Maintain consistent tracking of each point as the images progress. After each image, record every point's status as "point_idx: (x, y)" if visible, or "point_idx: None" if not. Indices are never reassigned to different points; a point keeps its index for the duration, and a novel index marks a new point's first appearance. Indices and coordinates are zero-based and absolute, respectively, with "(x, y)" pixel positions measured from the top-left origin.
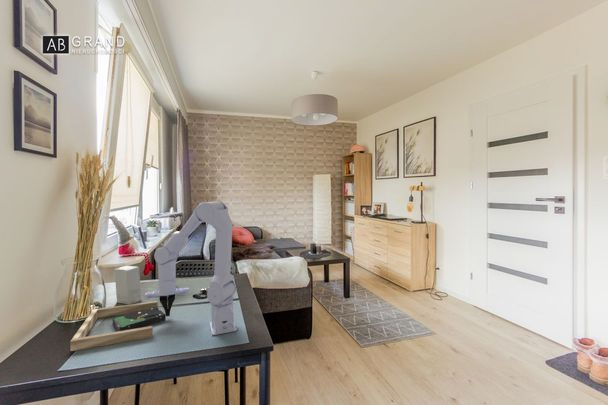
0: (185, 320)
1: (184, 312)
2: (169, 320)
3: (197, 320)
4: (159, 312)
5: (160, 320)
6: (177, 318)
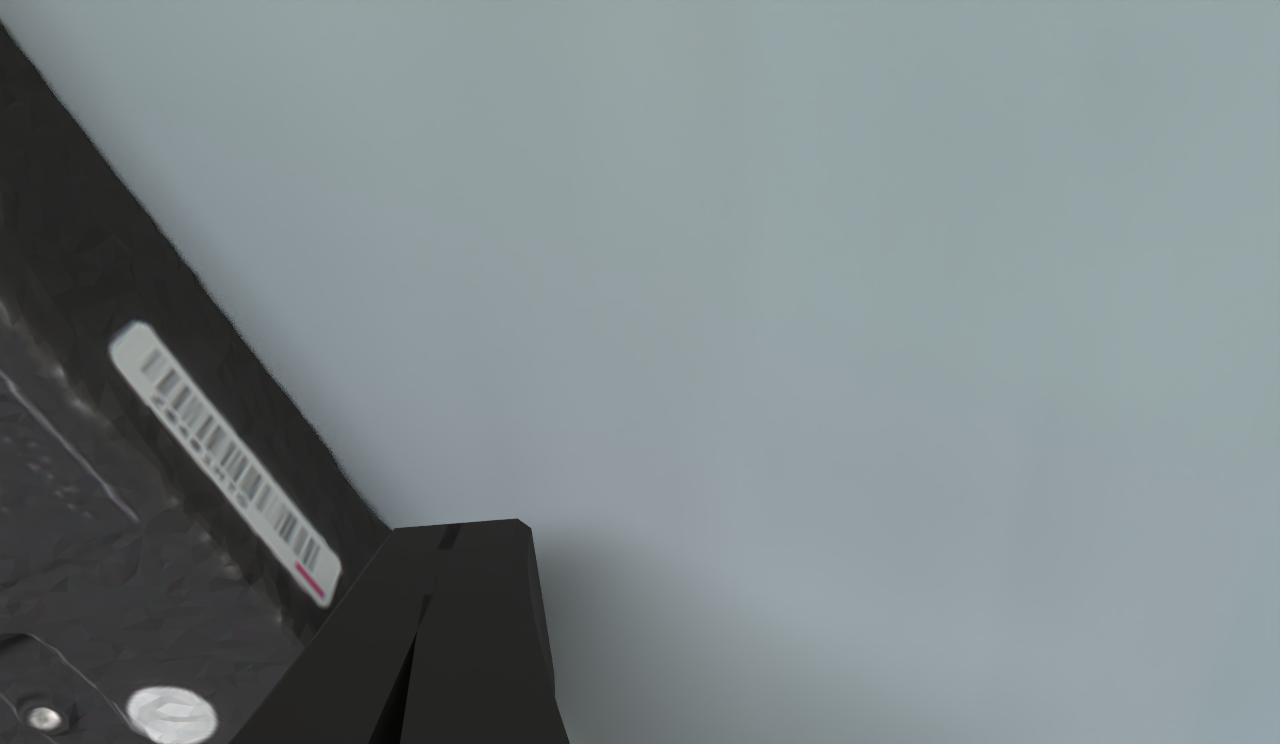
0: (1018, 716)
1: (1092, 95)
2: (559, 613)
3: None
4: (48, 528)
5: None
6: (799, 548)
